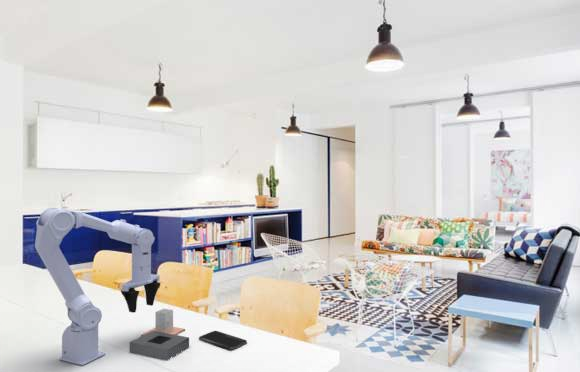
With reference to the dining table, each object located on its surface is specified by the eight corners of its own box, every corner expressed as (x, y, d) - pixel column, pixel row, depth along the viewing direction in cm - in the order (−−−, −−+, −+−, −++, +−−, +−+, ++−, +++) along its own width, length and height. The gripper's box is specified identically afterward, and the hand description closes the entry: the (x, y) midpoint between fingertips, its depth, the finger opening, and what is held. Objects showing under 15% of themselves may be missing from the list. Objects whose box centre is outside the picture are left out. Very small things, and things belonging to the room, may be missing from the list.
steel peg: (155, 333, 132) (155, 312, 132) (163, 329, 136) (163, 308, 136) (165, 334, 131) (165, 313, 131) (173, 330, 134) (173, 310, 134)
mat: (140, 336, 131) (140, 334, 131) (161, 326, 140) (161, 324, 140) (165, 340, 127) (165, 339, 127) (185, 330, 136) (185, 328, 136)
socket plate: (129, 352, 118) (129, 342, 118) (153, 340, 128) (153, 330, 128) (167, 360, 113) (167, 349, 113) (189, 347, 122) (189, 337, 122)
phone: (230, 349, 119) (197, 337, 128) (230, 352, 119) (197, 340, 128) (248, 340, 126) (215, 330, 134) (248, 344, 126) (215, 333, 134)
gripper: (134, 271, 119) (134, 317, 119) (166, 262, 132) (166, 303, 132) (116, 269, 121) (116, 313, 121) (150, 261, 135) (150, 301, 135)
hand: (141, 308), depth 127 cm, fingers open, 7 cm apart
